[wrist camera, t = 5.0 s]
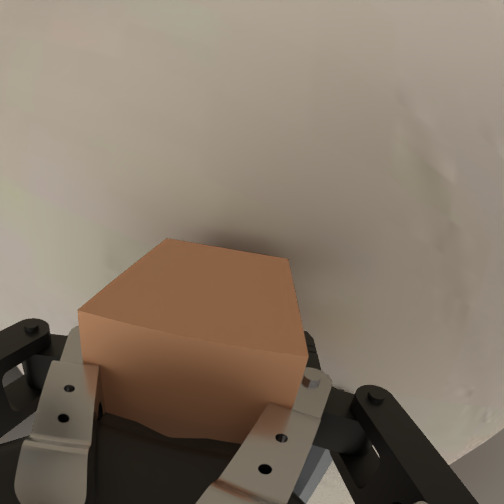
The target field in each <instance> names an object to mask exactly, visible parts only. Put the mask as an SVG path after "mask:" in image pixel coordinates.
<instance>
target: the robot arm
mask: <svg viewBox="0 0 504 504" xmlns="http://www.w3.org/2000/svg"><path fill="white" fill-rule="evenodd" d="M304 335H305V340H306V345H307V350H308V355H309V357H308V361H307V364H306V367H305V371H304V374H303V377H302V380H301V383H300V386H299V390H298V393H297V396H296V399H295V402H294V405H293V408H292V409H290V408H287V407H284V406H281V405H278V404H275V403H271V402H270V403H269V404H268V405H267V407H266V408H265V410H264V411H263V413H262V415H261V416H260V418H259V419H258V421H257V422H256V424H255V426H254V427H253V429H252V430H251V432H250V433H249V435H248V436H247V438H246V439H245V441H244V442H243V444H238V443H231V442H225V441H219V440H213V439H208V438H172V437H167V436H165V435H163V434H161V433H158V432H156V431H154V430H152V429H150V428H148V427H146V426H144V425H142V424H140V423H138V422H136V421H133V420H129V419H126V418H123V417H119V416H116V415H113V414H110V413H107V412H106V409H105V402H104V396H103V388H102V380H101V372H100V365H95V364H84V363H83V358H82V351H81V342H80V332H79V326H76V327H74V328H73V329H71V331H70V332H69V335H68V336H64V335H55V334H50V329H49V325H48V323H47V322H45V321H43V320H41V319H35V318H32V319H25V320H22V321H20V322H18V323H16V324H14V325H12V326H10V327H8V328H6V329H4V330H2V331H0V438H1V437H2V436H3V435H5V434H6V433H7V432H9V431H10V430H11V429H13V428H14V427H15V426H17V425H18V424H19V423H21V422H22V421H23V420H25V419H26V418H27V417H29V416H30V415H31V414H33V413H34V412H35V411H36V415H35V419H34V423H33V426H32V430H31V434H30V435H29V436H26V437H23V438H19V439H16V440H13V441H10V442H7V443H3V444H0V504H305V503H304V502H303V501H302V500H301V499H300V497H299V496H298V495H297V494H296V493H295V492H294V491H293V489H294V487H295V484H296V482H297V480H298V478H299V475H300V473H301V470H302V468H303V466H304V463H305V461H306V458H307V456H308V453H309V451H310V448H311V445H314V446H318V447H321V448H324V449H328V450H329V452H330V455H331V457H332V459H333V461H334V463H335V465H336V467H337V469H338V471H339V473H340V475H341V477H342V479H343V481H344V483H345V485H346V487H347V489H348V491H349V493H350V495H351V497H352V499H353V501H354V502H355V504H478V502H477V501H476V500H475V498H474V497H473V496H472V495H471V493H470V492H469V491H468V489H467V488H466V487H465V486H464V484H463V483H462V482H461V480H460V479H459V478H458V477H457V475H456V474H455V473H454V472H453V470H452V469H451V468H450V466H449V465H448V464H447V463H446V461H445V460H444V459H443V458H442V456H441V455H440V454H439V453H438V451H437V450H436V449H435V448H434V446H433V445H432V444H431V443H430V441H429V440H428V439H427V438H426V436H425V435H424V434H423V433H422V431H421V430H420V429H419V428H418V426H417V425H416V424H415V423H414V421H413V420H412V419H411V418H410V416H409V415H408V414H407V413H406V411H405V410H404V409H403V408H402V407H401V405H400V404H399V403H398V402H397V400H396V399H395V398H394V397H393V395H392V394H391V393H390V392H388V391H387V390H385V389H383V388H381V387H379V386H374V385H364V386H361V387H359V388H358V389H357V390H356V392H355V394H351V393H348V392H344V391H341V390H338V389H336V388H334V387H332V380H331V378H330V377H329V376H328V375H327V374H326V373H324V372H323V371H321V367H320V363H319V359H318V355H317V351H316V347H315V343H314V339H313V338H312V337H311V336H310V334H309V333H308V332H306V331H304ZM20 363H22V366H23V370H24V375H23V376H21V377H20V378H18V379H17V380H15V381H14V382H12V383H10V384H9V385H7V386H6V387H4V388H3V385H2V378H3V376H4V374H5V373H6V372H7V371H8V370H10V369H12V368H13V367H15V366H17V365H18V364H20ZM372 445H373V446H374V447H375V449H376V450H377V452H378V454H379V457H380V458H379V457H378V455H377V454H376V452H375V450H374V449H373V447H372Z"/></svg>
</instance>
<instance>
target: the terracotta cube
mask: <svg viewBox="0 0 504 504" xmlns="http://www.w3.org/2000/svg"><path fill="white" fill-rule="evenodd" d="M78 321H79V332H80V342H81V351H82V358H83V363H84V364H95V365H100V372H101V380H102V388H103V396H104V402H105V409H106V412H107V413H110V414H113V415H116V416H119V417H123V418H126V419H129V420H133V421H136V422H138V423H140V424H142V425H144V426H146V427H148V428H150V429H152V430H154V431H156V432H158V433H161V434H163V435H165V436H167V437H172V438H208V439H213V440H219V441H225V442H231V443H238V444H243V442H244V441H245V439H246V438H247V436H248V435H249V433H250V432H251V430H252V429H253V427H254V426H255V424H256V422H257V421H258V419H259V418H260V416H261V415H262V413H263V411H264V410H265V408H266V407H267V405H268V404H269V403H270V402H271V403H275V404H278V405H281V406H284V407H287V408H290V409H292V408H293V405H294V402H295V399H296V396H297V393H298V390H299V386H300V383H301V380H302V377H303V374H304V371H305V367H306V364H307V361H308V357H309V355H308V350H307V345H306V340H305V335H304V331H303V326H302V321H301V316H300V312H299V307H298V302H297V298H296V293H295V288H294V284H293V279H292V275H291V270H290V266H289V261H288V259H285V258H279V257H274V256H268V255H262V254H256V253H250V252H244V251H238V250H232V249H226V248H221V247H215V246H209V245H203V244H197V243H191V242H185V241H179V240H173V239H168V238H167V239H165V240H164V241H163V242H161V243H160V244H159V245H158V246H156V247H155V248H154V249H152V250H151V251H150V252H148V253H147V254H146V255H145V256H143V257H142V258H141V259H139V260H138V261H137V262H136V263H134V264H133V265H132V266H131V267H129V268H128V269H127V270H126V271H124V272H123V273H122V274H121V275H119V276H118V277H117V278H116V279H114V280H113V281H112V282H111V283H109V284H108V285H107V286H106V287H105V288H103V289H102V290H101V291H100V292H99V293H97V294H96V295H95V296H94V297H92V298H91V299H90V300H89V301H88V302H87V303H85V304H84V305H83V306H82V307H81V308H79V309H78Z"/></svg>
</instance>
